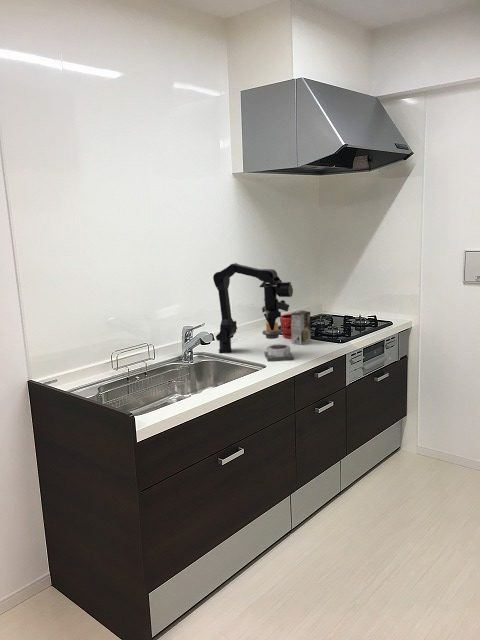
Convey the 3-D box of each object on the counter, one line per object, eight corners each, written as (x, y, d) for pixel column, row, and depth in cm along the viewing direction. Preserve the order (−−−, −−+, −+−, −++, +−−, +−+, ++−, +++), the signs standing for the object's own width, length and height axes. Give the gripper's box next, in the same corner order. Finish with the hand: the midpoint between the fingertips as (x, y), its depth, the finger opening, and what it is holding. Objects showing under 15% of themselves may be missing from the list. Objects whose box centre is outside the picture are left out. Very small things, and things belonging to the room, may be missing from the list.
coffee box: (300, 340, 287) (300, 310, 284) (311, 341, 283) (310, 311, 280) (291, 343, 280) (290, 313, 277) (301, 345, 276) (301, 314, 273)
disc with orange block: (261, 336, 260) (260, 321, 259) (280, 334, 261) (279, 320, 259) (264, 340, 251) (263, 325, 250) (283, 338, 252) (282, 323, 251)
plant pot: (283, 334, 303) (283, 313, 301) (307, 335, 299) (306, 313, 296) (277, 339, 291) (277, 317, 289) (301, 340, 287) (301, 318, 284)
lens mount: (264, 354, 259) (264, 344, 258) (289, 353, 260) (289, 343, 259) (267, 361, 247) (267, 350, 246) (293, 359, 248) (293, 349, 247)
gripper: (291, 298, 244) (292, 332, 247) (283, 293, 262) (285, 324, 265) (266, 299, 243) (268, 333, 246) (261, 294, 261) (262, 326, 264)
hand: (271, 329), depth 255 cm, fingers closed on disc with orange block, 2 cm apart
